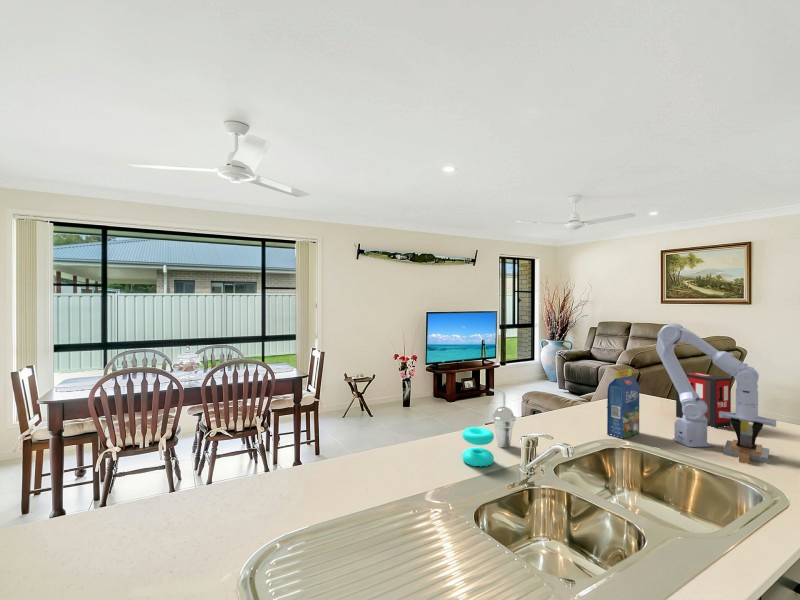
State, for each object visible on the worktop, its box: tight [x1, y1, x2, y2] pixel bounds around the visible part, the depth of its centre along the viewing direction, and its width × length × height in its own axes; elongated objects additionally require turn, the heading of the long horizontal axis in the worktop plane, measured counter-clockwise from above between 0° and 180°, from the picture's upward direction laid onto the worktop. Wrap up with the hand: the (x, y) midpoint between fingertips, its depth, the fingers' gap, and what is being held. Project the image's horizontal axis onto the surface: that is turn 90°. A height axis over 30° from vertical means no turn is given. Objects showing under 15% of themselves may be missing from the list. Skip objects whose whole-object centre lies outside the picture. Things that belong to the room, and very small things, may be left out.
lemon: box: [730, 419, 750, 432], centre depth 155 cm, size 6×6×8 cm
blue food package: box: [606, 368, 640, 439], centre depth 152 cm, size 6×12×25 cm, turn 123°
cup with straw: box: [489, 388, 517, 448], centre depth 140 cm, size 8×9×20 cm
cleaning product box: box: [675, 370, 732, 429], centre depth 169 cm, size 16×9×20 cm, turn 17°
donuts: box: [461, 426, 495, 468], centre depth 126 cm, size 10×10×10 cm
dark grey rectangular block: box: [740, 430, 753, 449], centre depth 133 cm, size 4×3×7 cm
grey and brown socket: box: [723, 439, 770, 465], centre depth 131 cm, size 16×11×3 cm
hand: (746, 442), depth 133 cm, fingers closed on dark grey rectangular block, 3 cm apart
